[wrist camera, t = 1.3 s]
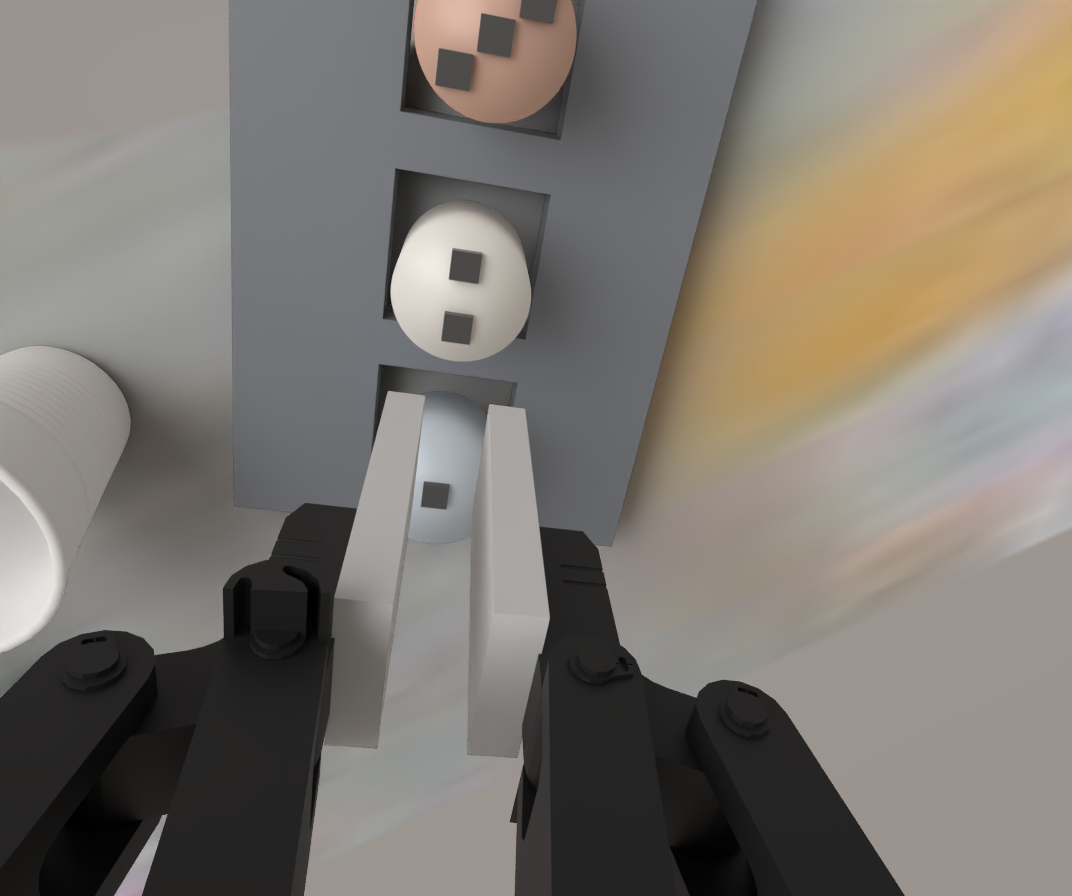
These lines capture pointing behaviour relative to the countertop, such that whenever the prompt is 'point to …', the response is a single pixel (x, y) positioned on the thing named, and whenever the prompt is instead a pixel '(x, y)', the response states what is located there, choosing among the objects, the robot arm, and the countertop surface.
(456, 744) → the countertop surface
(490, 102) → the button three
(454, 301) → the button two
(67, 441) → the cup
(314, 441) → the console
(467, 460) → the button one
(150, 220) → the countertop surface
